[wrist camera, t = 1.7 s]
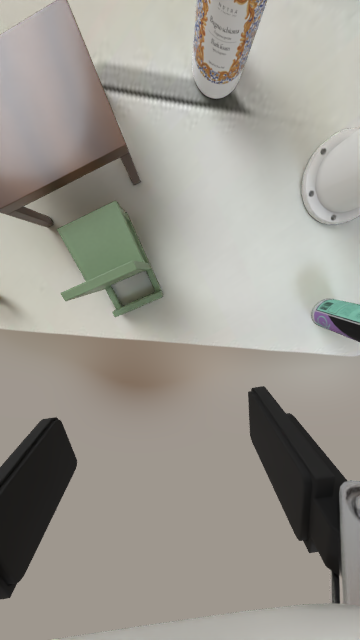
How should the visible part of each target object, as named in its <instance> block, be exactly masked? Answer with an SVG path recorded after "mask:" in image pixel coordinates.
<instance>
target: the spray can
mask: <svg viewBox="0 0 360 640" xmlns="http://www.w3.org/2000/svg"><path fill="white" fill-rule="evenodd" d="M311 316H312V320H313V322H314V323H315V324H317V325H319V326H321V327H324V328H326V329H329V330H331V331H334V332H336V333H339V334H341V335H343V336H346V337H348V338H351V339H353V340H356V341H358V342H360V305H359V304H354V303H349V302H344V301H339V300H334V299H324V300H322V301H320V302H318V303H317V304H316V305H315V307H314V308H313V310H312V315H311Z"/></svg>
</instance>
